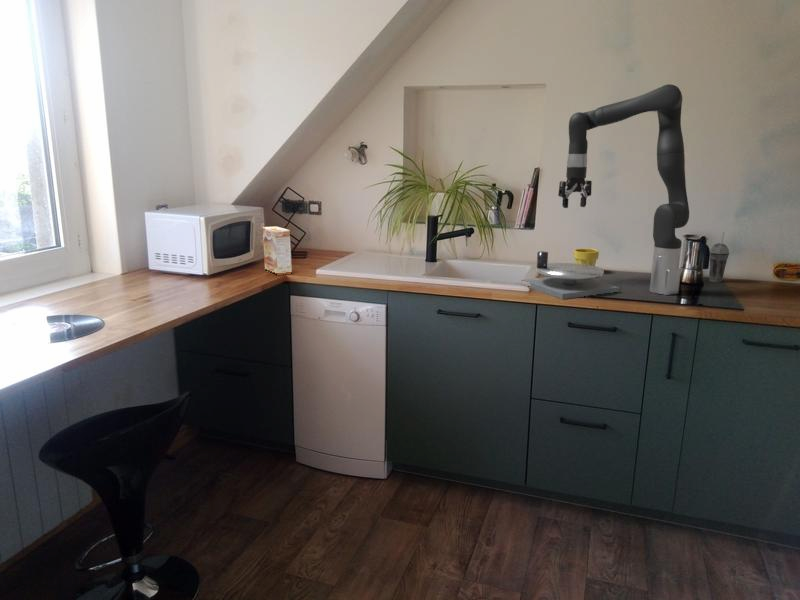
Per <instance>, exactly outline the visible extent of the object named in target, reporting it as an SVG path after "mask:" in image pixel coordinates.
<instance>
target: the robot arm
mask: <svg viewBox="0 0 800 600" xmlns="http://www.w3.org/2000/svg"><path fill="white" fill-rule="evenodd" d="M682 105H683V94H682V91H681V89H680V87H678V86H676V85H674V84H671V83H670V84H668V83H667V84H665V85H662V86H661V87H657V88H656V89H653V90H651V91H648V92H646V93H643V94H641V95H638V96H636V97H632V98H629V99H626V100H621V101H618V102H614V103H610V104H607V105H603V106H600V107H596V109H593V110H589V111H588V110H587V111H586V112H580V111H579V112H578V111H577V112H575V113H573V114H572V115H571V116H570V117H569V121H568V139H569V142H568V143H569V144H568V154H567V160H566V175H565V177H566V181H564V180H561V181H559V186H558V187H559V188H558V193H557V194H558V197H560V198H562V203H561V204H562V208H564V209H568V208H569V197H570V195H572V194H573V193H578V194H579V195H580V203H579V207H580V208H586V205H587V198H588V197H591V196H592V185H593V183H592V180H587V179H586V178H587V170H588V169H587V168H588V147H589V146H588V143H589V142H588V140H587V139H588V138H587V134H588V131H590V130H592V129H595V128H597V127H604V126H608V125H610V124H611V125H613V124H615V123H619V122H622V121H625V120H627V119H630V118H632V117H634V116H637V115H640V114H643V113H648V112H654V111H655V112H656V113H657V120H658V136H657V143H656V166H657V171H658V173H659V176H660V178H661V179H662V182H663V183H664V186H665V188H666V190H667V198H668V203H663V204H660V205H659V206H657V208H656V209H655V212H654V216H653V227H652V228H653V229H652V230H653V231H652V239H653V242H654V244H653V245H654V246H653V253H652V263H651V266H652V267H651V274H650V282H649V283H650V284H649V286H650V287H649V292H650V293H653V294H660V295H666V296H668V295H677V294H679V291H680V289H679V288H680V282H681V281H680V280H681V272H682V268H680V260H681V253H682V252H681V251H682V244H683V243H682V240H681V239H680V238H678V237H677V236H676V229H680V228H683V227H685V226H686V225H687V224H688V222H689V220H690V207H689V206H690V205H689V201H688V194H687V185H686V181H687V180H686V171H685V170H686V167H685V163H686V159H685V158H686V157H685V143H684V138H683V137H684V136H683V132H682V125H681V123H682V122H681V119H682ZM585 179H586V180H585Z"/></svg>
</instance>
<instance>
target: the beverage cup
mask: <svg viewBox="0 0 800 600" xmlns="http://www.w3.org/2000/svg"><path fill="white" fill-rule="evenodd" d="M724 237H725V231H724V232H722V236H721V240H720V242H719V243H718V242H717V243H714V245H712V246H711V247H710V249H709V252H710V253H709V254H710V256H709V270H708V271H709V282H711V283H722V281H723V279H724V273H725V271H726V270H725V269H726V266H727V265H726V264H727V262H728V258H729V255H730V249H729V247H728V246H727V245H726V244H725V243H724V242H723V241H724Z"/></svg>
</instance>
